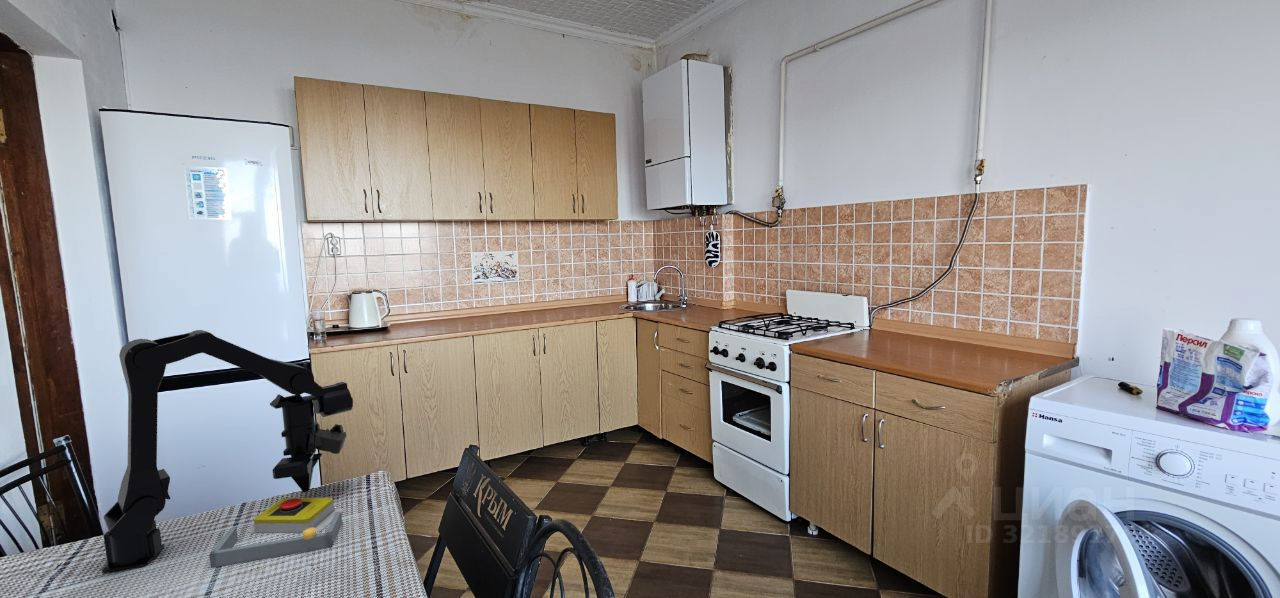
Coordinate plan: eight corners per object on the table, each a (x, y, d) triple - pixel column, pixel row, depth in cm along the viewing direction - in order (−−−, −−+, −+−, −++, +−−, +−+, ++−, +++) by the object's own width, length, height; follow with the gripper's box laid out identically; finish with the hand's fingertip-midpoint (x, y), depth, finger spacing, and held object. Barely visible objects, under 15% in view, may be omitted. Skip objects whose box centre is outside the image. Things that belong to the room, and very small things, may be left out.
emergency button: (275, 492, 116) (344, 491, 115) (277, 511, 117) (346, 511, 116) (242, 514, 107) (317, 514, 106) (245, 535, 107) (319, 535, 107)
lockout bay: (209, 569, 96) (207, 549, 95) (231, 540, 105) (229, 522, 104) (331, 548, 101) (329, 529, 101) (342, 522, 110) (340, 505, 110)
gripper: (331, 432, 112) (337, 504, 113) (349, 405, 129) (355, 468, 131) (268, 439, 108) (276, 514, 110) (296, 411, 126) (302, 475, 128)
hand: (306, 491), depth 120 cm, fingers closed
